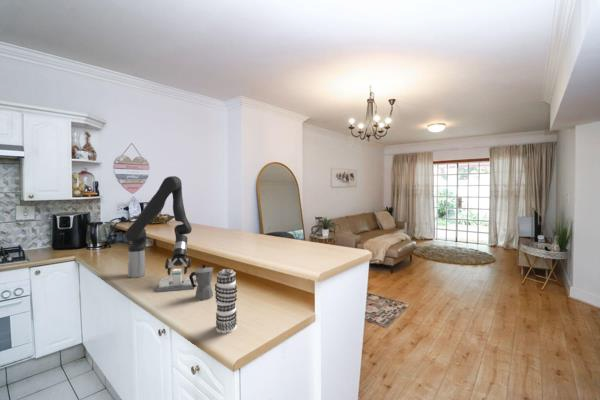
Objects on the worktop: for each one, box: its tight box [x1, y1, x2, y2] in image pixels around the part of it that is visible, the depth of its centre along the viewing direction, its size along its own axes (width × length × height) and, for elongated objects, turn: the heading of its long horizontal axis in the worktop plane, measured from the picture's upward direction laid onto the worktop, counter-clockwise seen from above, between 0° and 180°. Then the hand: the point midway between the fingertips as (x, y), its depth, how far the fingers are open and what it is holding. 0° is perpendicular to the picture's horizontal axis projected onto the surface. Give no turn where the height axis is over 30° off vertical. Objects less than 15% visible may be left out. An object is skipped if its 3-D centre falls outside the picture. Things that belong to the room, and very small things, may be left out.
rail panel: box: [156, 275, 197, 293], centre depth 160 cm, size 20×12×5 cm, turn 105°
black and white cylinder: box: [214, 268, 238, 334], centre depth 114 cm, size 9×9×25 cm
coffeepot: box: [188, 264, 215, 301], centre depth 144 cm, size 15×9×18 cm, turn 147°
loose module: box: [171, 267, 183, 286], centre depth 160 cm, size 4×4×9 cm
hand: (177, 274), depth 159 cm, fingers open, 8 cm apart
